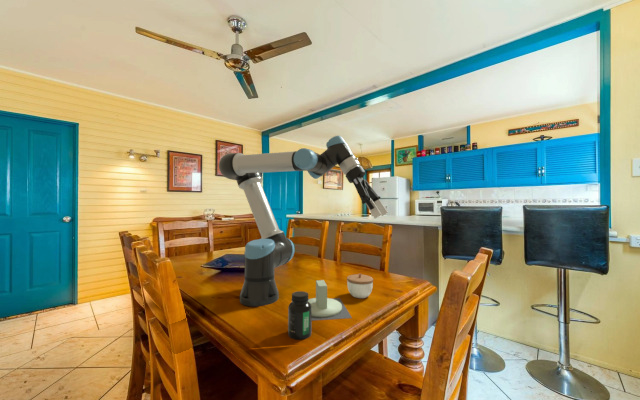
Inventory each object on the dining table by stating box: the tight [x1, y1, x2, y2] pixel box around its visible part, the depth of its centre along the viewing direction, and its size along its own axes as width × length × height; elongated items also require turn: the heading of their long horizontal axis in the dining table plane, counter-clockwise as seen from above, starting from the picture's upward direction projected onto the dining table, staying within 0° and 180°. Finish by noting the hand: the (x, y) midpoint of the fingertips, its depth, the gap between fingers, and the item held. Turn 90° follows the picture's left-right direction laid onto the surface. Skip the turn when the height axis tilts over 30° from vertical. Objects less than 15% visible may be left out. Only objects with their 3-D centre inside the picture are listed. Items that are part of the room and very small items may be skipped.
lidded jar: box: [346, 273, 374, 299], centre depth 107 cm, size 11×11×9 cm
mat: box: [312, 297, 353, 321], centre depth 94 cm, size 18×18×1 cm
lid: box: [308, 279, 342, 318], centre depth 94 cm, size 15×15×9 cm
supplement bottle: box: [287, 290, 313, 341], centre depth 76 cm, size 7×7×12 cm
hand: (381, 215), depth 99 cm, fingers open, 13 cm apart
